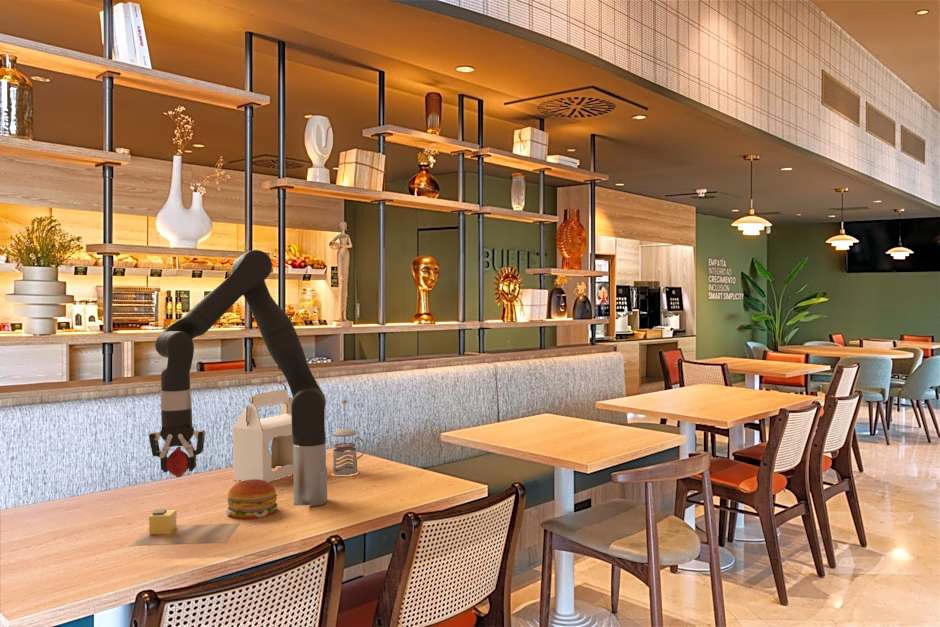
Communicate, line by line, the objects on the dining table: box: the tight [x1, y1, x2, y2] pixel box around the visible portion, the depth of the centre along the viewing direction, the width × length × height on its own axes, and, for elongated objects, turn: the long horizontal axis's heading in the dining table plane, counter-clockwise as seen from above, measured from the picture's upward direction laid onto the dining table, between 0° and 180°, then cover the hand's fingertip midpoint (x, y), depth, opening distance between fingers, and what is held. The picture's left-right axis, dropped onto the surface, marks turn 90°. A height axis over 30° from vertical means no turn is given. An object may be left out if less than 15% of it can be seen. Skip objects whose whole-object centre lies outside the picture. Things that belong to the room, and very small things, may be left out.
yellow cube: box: [148, 508, 178, 534], centre depth 185 cm, size 5×5×5 cm
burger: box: [226, 479, 279, 520], centre depth 201 cm, size 14×14×10 cm
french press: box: [331, 399, 366, 475], centre depth 250 cm, size 10×12×25 cm
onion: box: [166, 446, 190, 478], centre depth 194 cm, size 6×6×8 cm
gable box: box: [232, 389, 293, 483], centre depth 248 cm, size 22×13×28 cm, turn 152°
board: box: [130, 522, 241, 547], centre depth 181 cm, size 22×18×1 cm
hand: (178, 470), depth 194 cm, fingers closed on onion, 6 cm apart
